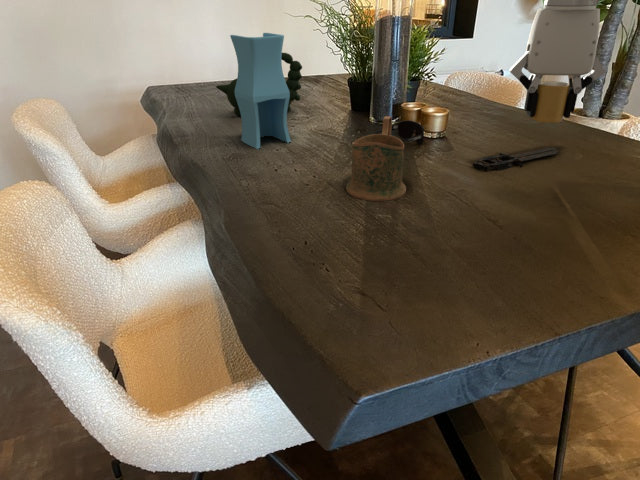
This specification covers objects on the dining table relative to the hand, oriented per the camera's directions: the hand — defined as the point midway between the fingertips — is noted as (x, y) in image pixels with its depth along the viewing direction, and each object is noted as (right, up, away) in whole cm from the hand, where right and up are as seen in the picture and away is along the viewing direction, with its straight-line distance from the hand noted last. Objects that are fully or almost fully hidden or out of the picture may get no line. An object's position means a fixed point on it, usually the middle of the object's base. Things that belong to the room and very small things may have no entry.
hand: (547, 114), depth 85 cm
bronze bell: (-28, -11, +13) cm, 32 cm away
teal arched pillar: (-54, +3, +40) cm, 67 cm away
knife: (+5, -4, +25) cm, 26 cm away
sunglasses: (-21, +1, +36) cm, 42 cm away
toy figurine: (-57, +16, +65) cm, 88 cm away
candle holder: (0, -1, 0) cm, 1 cm away
